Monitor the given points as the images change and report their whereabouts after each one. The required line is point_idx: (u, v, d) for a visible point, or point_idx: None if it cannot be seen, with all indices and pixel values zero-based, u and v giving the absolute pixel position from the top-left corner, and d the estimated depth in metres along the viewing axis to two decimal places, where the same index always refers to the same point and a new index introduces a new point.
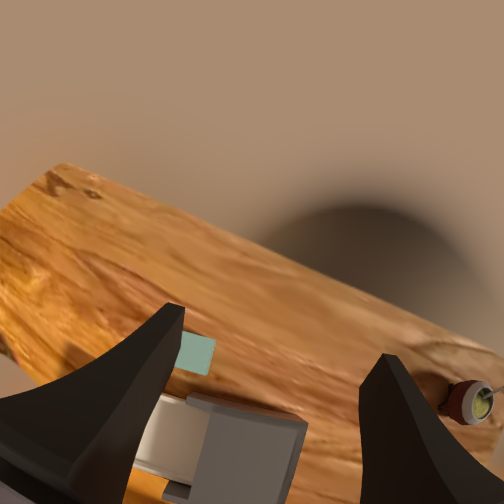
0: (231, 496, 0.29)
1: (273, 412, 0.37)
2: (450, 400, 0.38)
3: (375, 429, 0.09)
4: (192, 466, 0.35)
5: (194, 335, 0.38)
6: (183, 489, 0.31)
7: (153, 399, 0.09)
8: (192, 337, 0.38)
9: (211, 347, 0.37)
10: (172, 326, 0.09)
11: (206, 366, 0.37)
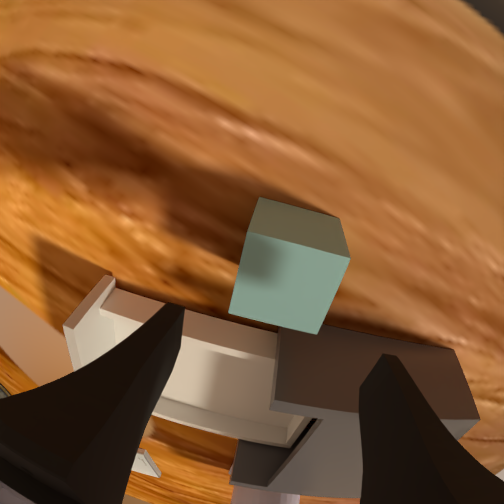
0: (330, 486, 0.20)
1: (427, 366, 0.19)
2: None
3: (375, 429, 0.09)
4: (275, 415, 0.25)
5: (293, 246, 0.14)
6: (260, 456, 0.24)
7: (153, 399, 0.09)
8: (287, 251, 0.14)
9: (339, 276, 0.14)
10: (172, 326, 0.09)
11: (321, 317, 0.15)
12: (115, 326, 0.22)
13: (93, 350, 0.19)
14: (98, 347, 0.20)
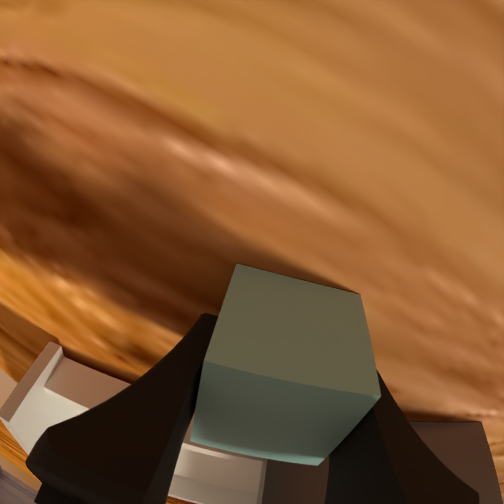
0: None
1: (451, 452, 0.13)
2: None
3: None
4: None
5: (286, 384, 0.07)
6: None
7: (192, 411, 0.09)
8: (275, 390, 0.07)
9: (358, 416, 0.08)
10: None
11: (326, 452, 0.09)
12: None
13: (44, 430, 0.13)
14: (51, 425, 0.14)
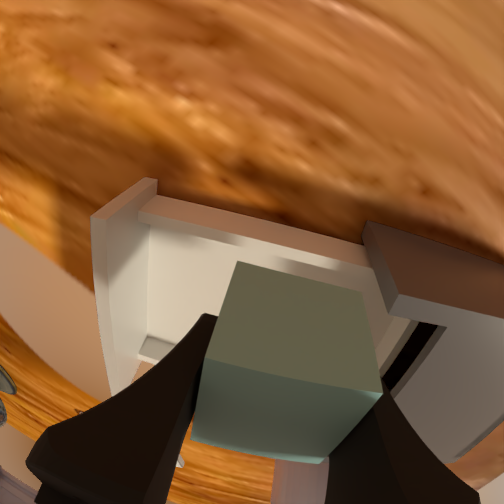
0: None
1: None
2: None
3: None
4: None
5: (287, 381, 0.07)
6: None
7: (192, 411, 0.09)
8: (276, 387, 0.07)
9: (360, 413, 0.08)
10: None
11: (327, 451, 0.09)
12: (150, 249, 0.18)
13: (124, 270, 0.15)
14: (130, 269, 0.16)
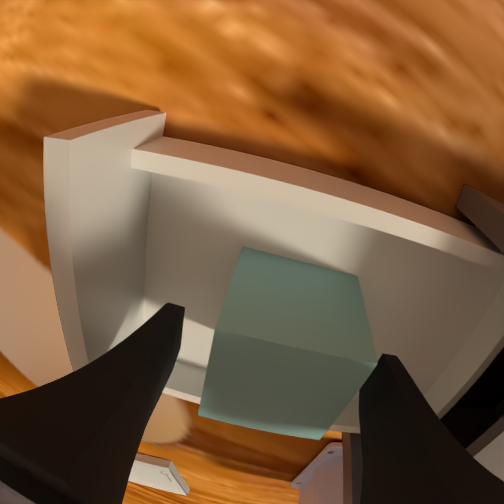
0: None
1: None
2: None
3: (375, 429, 0.09)
4: None
5: (290, 350, 0.08)
6: None
7: (153, 399, 0.09)
8: (280, 356, 0.08)
9: (357, 384, 0.09)
10: (172, 326, 0.09)
11: (327, 425, 0.10)
12: (150, 222, 0.12)
13: (105, 248, 0.09)
14: (116, 248, 0.10)
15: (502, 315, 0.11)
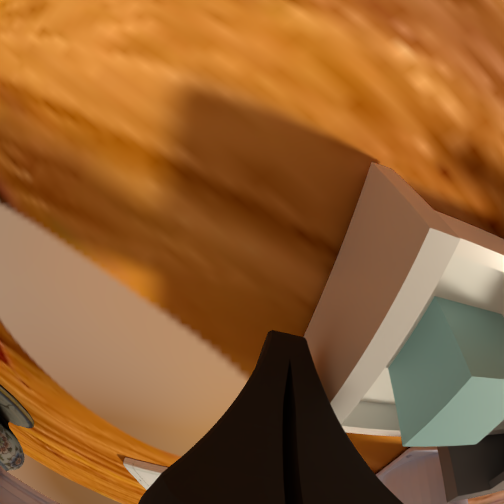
0: None
1: None
2: None
3: None
4: None
5: None
6: (473, 454, 0.13)
7: None
8: (496, 387, 0.08)
9: None
10: (289, 356, 0.09)
11: (489, 431, 0.10)
12: None
13: None
14: None
15: None
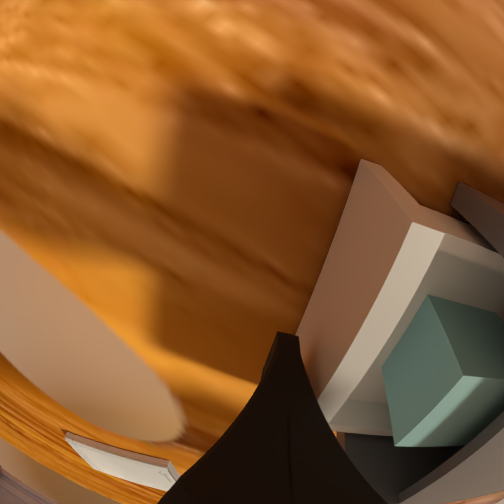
0: (486, 480, 0.10)
1: None
2: None
3: None
4: None
5: (497, 381, 0.08)
6: (380, 457, 0.13)
7: None
8: (489, 387, 0.08)
9: None
10: (299, 359, 0.09)
11: None
12: None
13: None
14: None
15: None
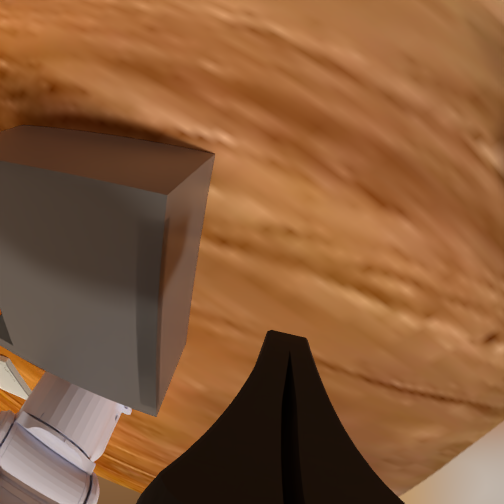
0: (59, 353, 0.16)
1: (135, 150, 0.14)
2: None
3: None
4: None
5: None
6: None
7: None
8: None
9: None
10: (288, 356, 0.09)
11: None
12: None
13: None
14: None
15: None
